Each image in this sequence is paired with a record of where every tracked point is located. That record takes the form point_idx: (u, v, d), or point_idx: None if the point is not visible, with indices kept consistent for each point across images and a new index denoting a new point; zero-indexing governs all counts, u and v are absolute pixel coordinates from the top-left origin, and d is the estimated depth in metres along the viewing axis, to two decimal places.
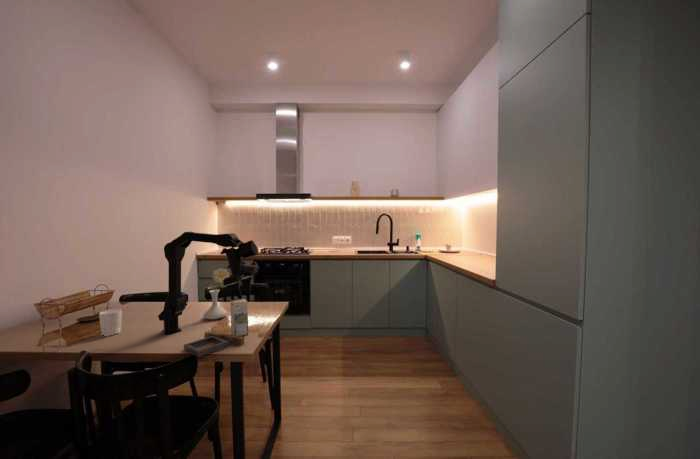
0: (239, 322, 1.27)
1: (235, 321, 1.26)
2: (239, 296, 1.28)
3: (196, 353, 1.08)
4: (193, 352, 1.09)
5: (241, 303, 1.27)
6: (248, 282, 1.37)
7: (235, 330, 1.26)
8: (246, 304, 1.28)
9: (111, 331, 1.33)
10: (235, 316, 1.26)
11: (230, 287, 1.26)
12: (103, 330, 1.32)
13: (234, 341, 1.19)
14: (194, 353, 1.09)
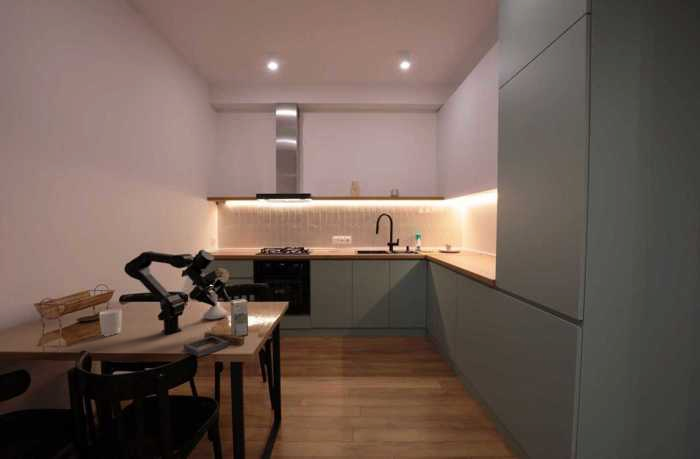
0: (239, 322, 1.27)
1: (235, 321, 1.26)
2: (212, 303, 1.26)
3: (196, 353, 1.08)
4: (193, 352, 1.09)
5: (241, 303, 1.27)
6: (222, 290, 1.36)
7: (235, 330, 1.26)
8: (246, 304, 1.28)
9: (111, 331, 1.33)
10: (235, 316, 1.26)
11: (200, 299, 1.25)
12: (103, 330, 1.32)
13: (234, 341, 1.19)
14: (194, 353, 1.09)
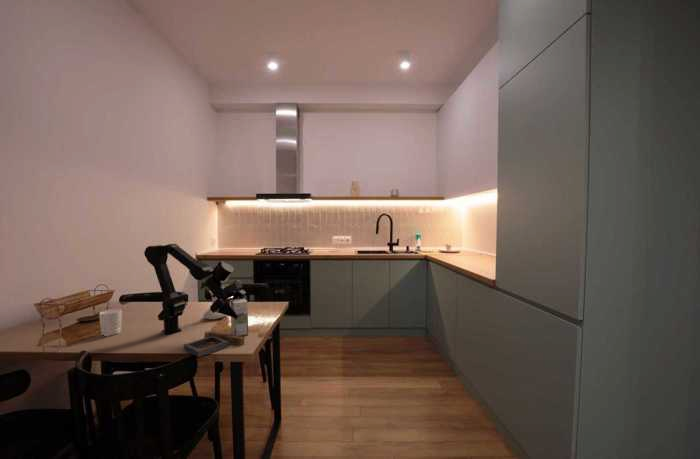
0: (239, 321, 1.27)
1: (235, 321, 1.26)
2: (234, 315, 1.25)
3: (196, 353, 1.08)
4: (193, 352, 1.09)
5: (241, 303, 1.27)
6: None
7: (235, 330, 1.26)
8: (246, 304, 1.28)
9: (111, 331, 1.33)
10: None
11: (222, 311, 1.24)
12: (103, 330, 1.32)
13: (234, 341, 1.19)
14: (194, 353, 1.09)
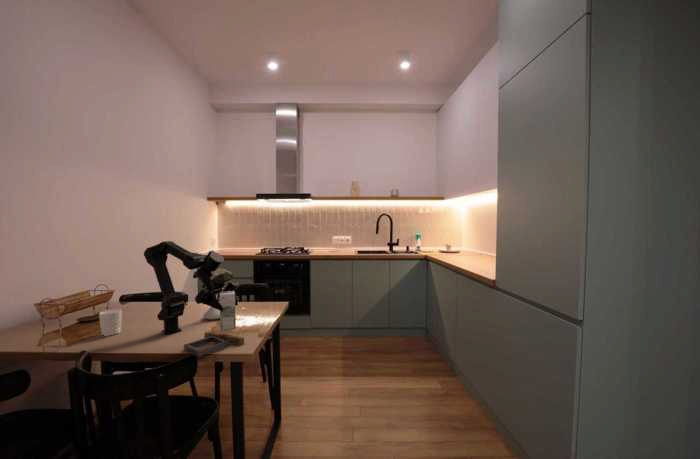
0: (226, 315, 1.20)
1: (221, 314, 1.20)
2: (219, 308, 1.19)
3: (196, 353, 1.08)
4: (193, 352, 1.09)
5: (227, 296, 1.20)
6: None
7: (221, 323, 1.20)
8: (233, 297, 1.21)
9: (111, 331, 1.33)
10: None
11: (207, 303, 1.19)
12: (103, 330, 1.32)
13: (234, 341, 1.19)
14: (194, 353, 1.09)
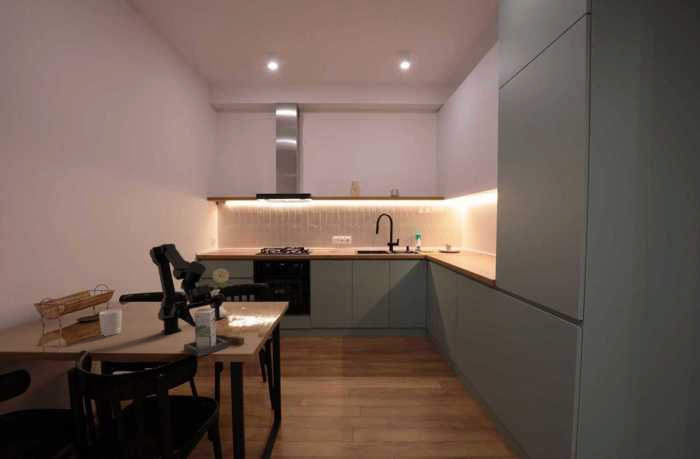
0: (201, 334, 1.13)
1: (196, 333, 1.13)
2: (192, 324, 1.11)
3: (196, 353, 1.08)
4: (193, 352, 1.09)
5: (202, 314, 1.12)
6: (215, 308, 1.20)
7: (196, 343, 1.13)
8: (208, 316, 1.13)
9: (111, 331, 1.33)
10: (196, 328, 1.12)
11: (182, 317, 1.13)
12: (103, 330, 1.32)
13: (234, 341, 1.19)
14: (194, 353, 1.09)
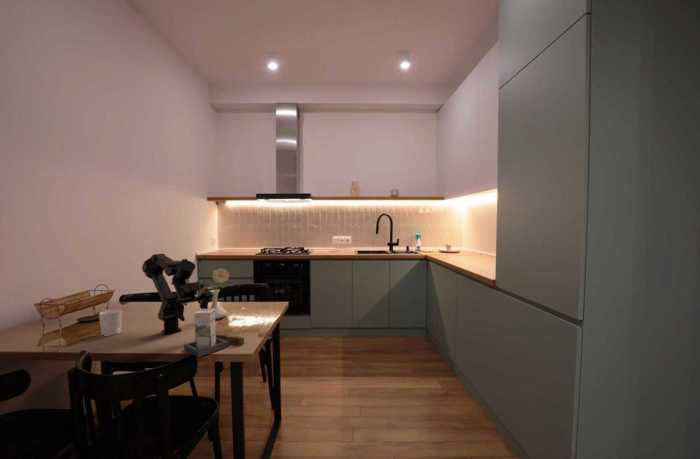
0: (201, 334, 1.13)
1: (196, 333, 1.13)
2: (181, 318, 1.17)
3: (196, 353, 1.08)
4: (193, 352, 1.09)
5: (202, 314, 1.13)
6: (204, 304, 1.26)
7: (196, 343, 1.13)
8: (208, 316, 1.13)
9: (111, 331, 1.33)
10: (196, 328, 1.12)
11: (172, 311, 1.19)
12: (103, 330, 1.32)
13: (234, 341, 1.19)
14: (194, 353, 1.09)
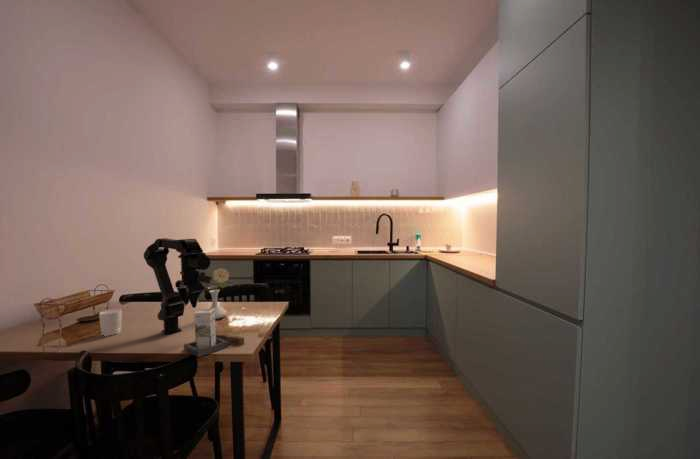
0: (201, 334, 1.13)
1: (196, 333, 1.13)
2: (194, 305, 1.25)
3: (196, 353, 1.08)
4: (193, 352, 1.09)
5: (202, 314, 1.13)
6: None
7: (196, 343, 1.13)
8: (208, 316, 1.13)
9: (111, 331, 1.33)
10: (196, 328, 1.12)
11: (190, 295, 1.23)
12: (103, 330, 1.32)
13: (234, 341, 1.19)
14: (194, 353, 1.09)
